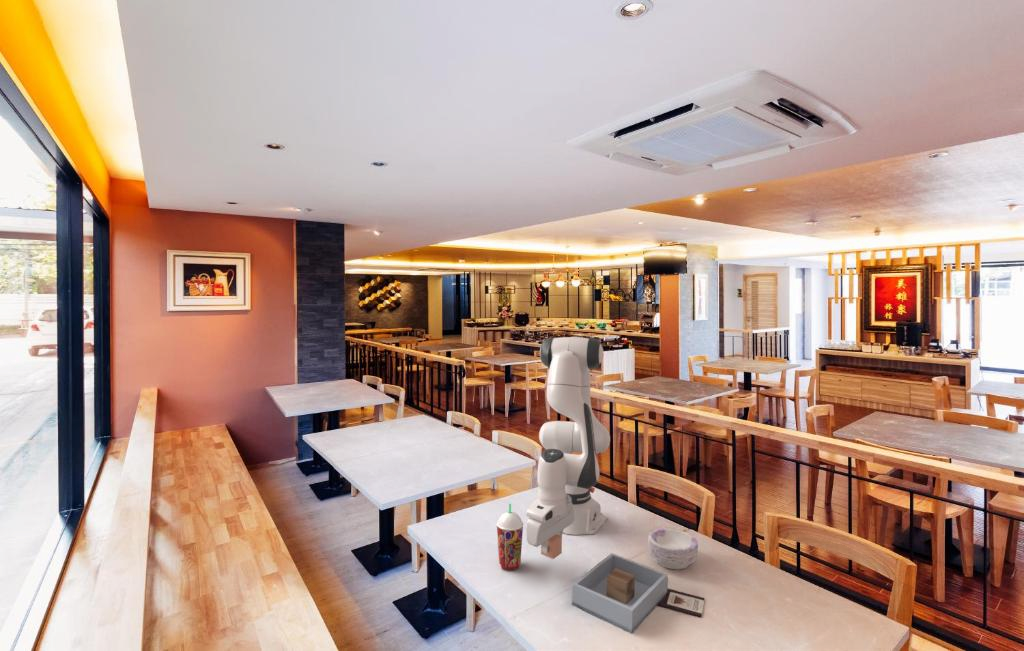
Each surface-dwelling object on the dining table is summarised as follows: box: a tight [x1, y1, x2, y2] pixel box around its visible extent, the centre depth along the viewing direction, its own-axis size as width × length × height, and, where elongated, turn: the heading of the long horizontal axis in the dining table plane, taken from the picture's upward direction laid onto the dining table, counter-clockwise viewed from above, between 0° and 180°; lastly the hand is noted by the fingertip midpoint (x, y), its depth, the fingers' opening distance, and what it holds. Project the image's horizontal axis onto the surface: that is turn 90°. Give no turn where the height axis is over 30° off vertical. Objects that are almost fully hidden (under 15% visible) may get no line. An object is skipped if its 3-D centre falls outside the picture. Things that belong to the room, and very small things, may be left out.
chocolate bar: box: [657, 587, 705, 619], centre depth 141 cm, size 9×1×18 cm
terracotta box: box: [540, 534, 563, 560], centre depth 153 cm, size 4×4×6 cm
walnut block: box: [607, 568, 635, 604], centre depth 141 cm, size 5×6×6 cm
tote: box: [571, 552, 669, 634], centre depth 141 cm, size 22×18×6 cm
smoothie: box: [496, 503, 524, 571], centre depth 158 cm, size 8×8×20 cm
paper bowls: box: [647, 528, 699, 571], centre depth 161 cm, size 15×15×8 cm
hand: (551, 547), depth 153 cm, fingers closed on terracotta box, 4 cm apart
